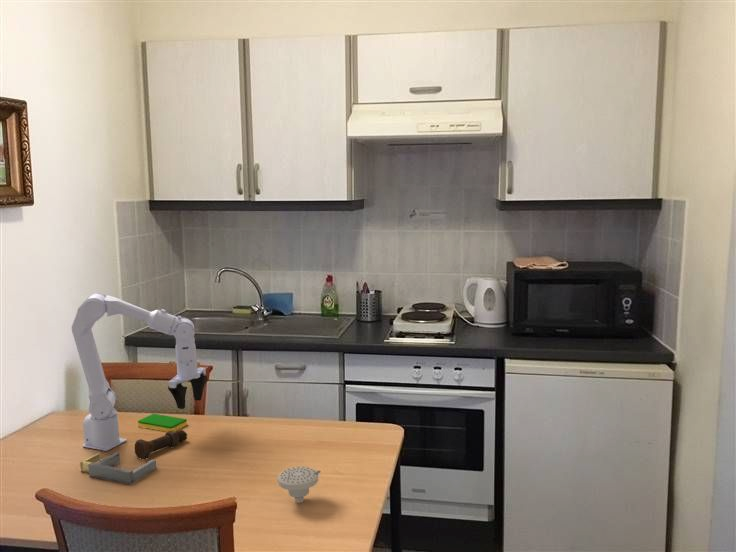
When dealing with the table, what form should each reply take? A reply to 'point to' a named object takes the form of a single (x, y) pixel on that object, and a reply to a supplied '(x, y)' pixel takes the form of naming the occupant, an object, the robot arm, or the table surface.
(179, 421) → the dish sponge
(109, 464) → the grey u-shaped bracket
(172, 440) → the bolt
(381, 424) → the table surface
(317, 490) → the table surface
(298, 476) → the showerhead
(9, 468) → the table surface
